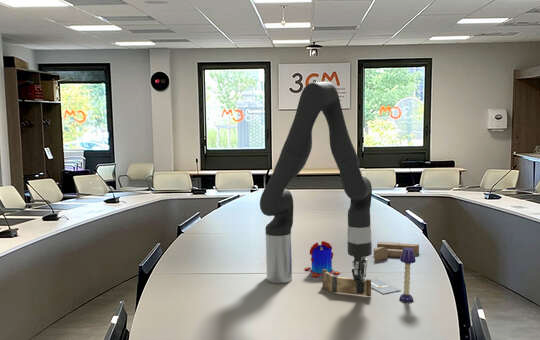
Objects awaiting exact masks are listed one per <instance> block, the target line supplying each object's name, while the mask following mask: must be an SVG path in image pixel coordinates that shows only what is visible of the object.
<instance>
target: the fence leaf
mask: <svg viewBox="0 0 540 340" xmlns="http://www.w3.org/2000/svg"><path fill="white" fill-rule="evenodd" d="M371 279H372V278H368V279H367V278H365V281H364V293H363V294H357V292H356V282H354V278H353V277H343V276H338V275H334V276H332V286H333V292H332V293H338V294H339V293H340V294H347V295H353V296H354V295H355V296H365V297H372V288H371Z"/></svg>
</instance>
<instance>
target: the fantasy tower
mask: <svg viewBox="0 0 540 340" xmlns="http://www.w3.org/2000/svg"><path fill="white" fill-rule="evenodd" d="M320 243H321V244H319V242H315V243H314V244H312V245H311V247H310V249H309V255H310V256H311V258H310V260H311V267H305V268H304V269H303V271H304V270H305V271H304V272H308V273H309V272H310V273H311V274H310V273H309V274H310V275H311V278H315V279H317V278H320V277H322V270H323V269H327V272H329V273H331V274H332V275H334V276H339V275H341V272H340V271H337V270H336V271H334V269H333V263H332V262H333V261H332V260H333V257H334V252H333V251H332V250H333V246H332V245H331V243H330V242H328V241H323V240H322V241H321V242H320ZM310 269H311V270H310Z"/></svg>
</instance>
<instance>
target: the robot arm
mask: <svg viewBox="0 0 540 340" xmlns="http://www.w3.org/2000/svg"><path fill="white" fill-rule="evenodd" d="M302 89H303V90H302V91H301V94H300V97H299V100H298V104H297V108H296V112H295V115H294V119H293V121H292V124H291V126H290V128H289V132H288V134H287V136H286V140H285V141H284V144H283V146H282V149H281V150H280V154H279V157H278V160H277V162H276V164H275V166H274V169H273V172H272V173H271V176H270V178H269V180H268V182H267V183H266V186H265V187H264V189H263V191H262V193H261V194H260V195H261V196H260V199H259V209H260V210H261V211H260V212H261V213H262V214H263V215H264V216H267V217H273V219H272V220H271V221H270V222H269V223H268V224H266V226H265V252H266V253H265V254H266V262H265V263H266V281H267V282H269V283H272V284H284V283H285V284H286V283H290V282H291V281H292V280H293V261H292V260H293V257H292V252H293V251H292V228H293V225H294V198H293V194H292V192H290V190H289V189H287V187H288V185H289V183H290V182H292V180H293V179H295V177H297V175H298V174H299V173H300V172H301V171H302V170H303V169H304V167H305V166H306V164H307V162H308V159H309V157H310V154H311V152H312V148H313V128H314V125H315V122H316V120H317V118H318V116H319V115H320V113H322V114H323V116H324V118H325V120H326V123H327V127H328V136H329V146H330V151H331V154H332V156H333V159H334V161H335V164H336V166H337V169H338V170H339V171H338V172H339V176H340V179H341V183H342V184H341V185H342V188H343V190H344V193H345V195H346V196H347V197H348V198H349V199H350V203H349V204H350V205H349V208H348V211H347V232H346V233H347V234H346V238H347V239H346V240H347V243H346V244H347V255H348V256H351V257H353V260H352V267H353V268H352V269H351V273H352V278H354V282H356V292H357V294H363V293H364V281H365V280H366V276H367V268H368V267H367V266H368V259H366V257H369V256H371V255H372V254H373V253H372V252H373V251H372V250H373V246H372V245H373V244H372V229H371V227H372V225H371V204H372V197H373V196H372V194H373V189H372V188H373V187H372V183H371V181H370V180H369V179H368V178H367V177H366V176H363V175H362V173H361V170H360V169H361V168H360V160H359V157H358V154H357V152H356V149H355V147H354V145H353V143H352V140H351V137H350V134H349V130H348V128H347V124H346V121H345V116H344V113H343V109H342V104H341V101H340V96H339V93H338V89H337V88H336V86H335V85H334V84H333V83H331V82H329V81H325V80H324V81H314V82H309V83H308V84H306V85H305V86H304V88H302Z"/></svg>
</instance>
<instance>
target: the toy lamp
mask: <svg viewBox="0 0 540 340" xmlns="http://www.w3.org/2000/svg"><path fill="white" fill-rule="evenodd" d="M399 258H400V257H399ZM400 262H401V263H404V281H403V289H404V290H403V293H402V294H401V295H400V296H399V301H401V302H404V303H412V302H414V297H413V296H412V295H411V294H410V284H411V282H410V280H411V277H410V276H411V264H414V263H416V255H414V251H413V249H412V248H404V249H403V252H402V255H401V258H400Z"/></svg>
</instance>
